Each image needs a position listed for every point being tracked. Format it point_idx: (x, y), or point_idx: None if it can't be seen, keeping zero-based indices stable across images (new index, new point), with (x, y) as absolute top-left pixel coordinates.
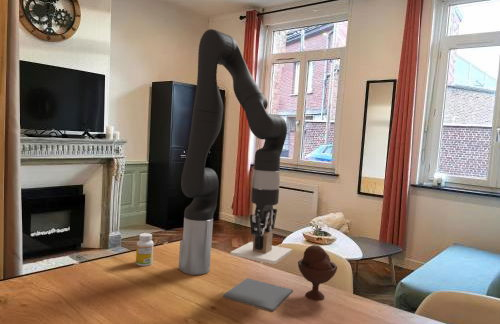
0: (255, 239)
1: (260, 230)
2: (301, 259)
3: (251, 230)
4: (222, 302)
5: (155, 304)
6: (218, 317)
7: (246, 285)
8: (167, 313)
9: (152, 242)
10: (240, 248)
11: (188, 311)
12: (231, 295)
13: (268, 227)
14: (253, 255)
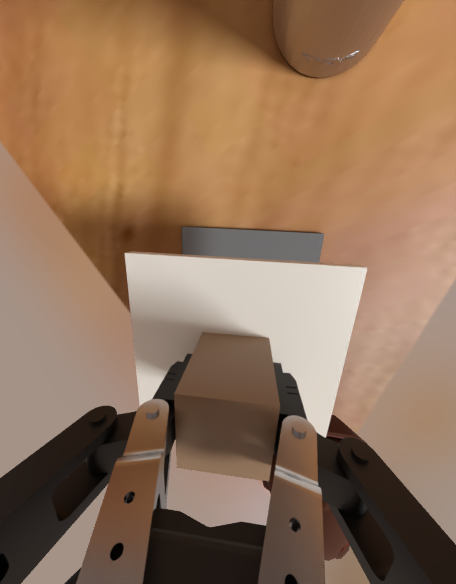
0: (157, 391)
1: (90, 492)
2: (340, 435)
3: (61, 437)
4: (160, 240)
5: (48, 95)
6: (101, 264)
7: (269, 254)
8: (42, 158)
9: None
10: (203, 270)
11: (79, 195)
12: (191, 247)
13: (270, 498)
14: (148, 353)
